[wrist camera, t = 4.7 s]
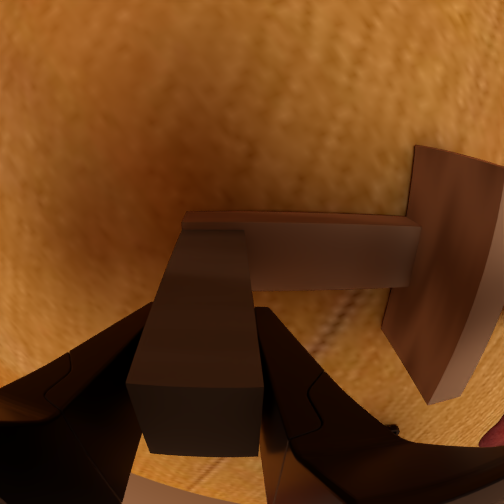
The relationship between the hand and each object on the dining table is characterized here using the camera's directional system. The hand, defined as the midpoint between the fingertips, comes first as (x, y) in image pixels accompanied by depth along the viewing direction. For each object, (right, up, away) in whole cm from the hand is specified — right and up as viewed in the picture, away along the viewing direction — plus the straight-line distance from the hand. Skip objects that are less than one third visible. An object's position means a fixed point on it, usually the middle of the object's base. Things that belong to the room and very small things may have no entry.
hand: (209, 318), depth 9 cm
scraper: (+4, +2, +5) cm, 7 cm away
